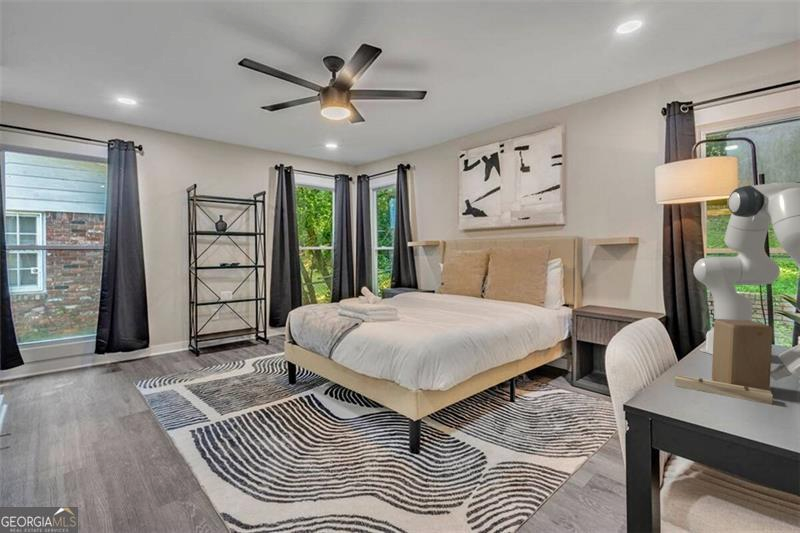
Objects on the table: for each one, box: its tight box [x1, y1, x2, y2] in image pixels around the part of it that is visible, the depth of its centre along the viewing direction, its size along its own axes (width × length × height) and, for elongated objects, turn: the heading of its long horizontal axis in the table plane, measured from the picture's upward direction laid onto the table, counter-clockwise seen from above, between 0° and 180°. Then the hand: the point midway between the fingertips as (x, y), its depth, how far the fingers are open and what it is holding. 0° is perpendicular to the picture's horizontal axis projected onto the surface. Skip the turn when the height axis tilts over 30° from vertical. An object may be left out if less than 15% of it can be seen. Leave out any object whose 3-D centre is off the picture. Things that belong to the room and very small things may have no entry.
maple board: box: [674, 374, 773, 405], centre depth 107 cm, size 4×21×3 cm, turn 50°
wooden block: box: [711, 319, 774, 391], centre depth 111 cm, size 10×10×20 cm
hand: (771, 376), depth 106 cm, fingers closed
